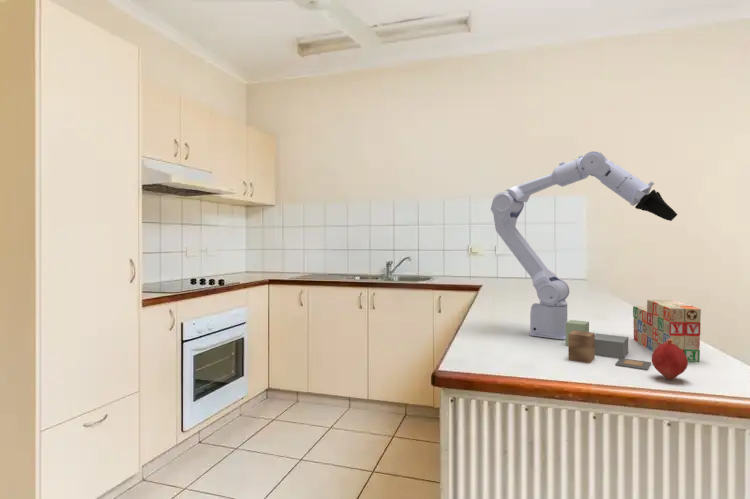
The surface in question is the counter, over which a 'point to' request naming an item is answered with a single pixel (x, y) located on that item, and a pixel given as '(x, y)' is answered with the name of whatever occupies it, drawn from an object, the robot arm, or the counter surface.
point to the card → (633, 364)
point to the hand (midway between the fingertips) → (672, 217)
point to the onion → (669, 360)
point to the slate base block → (611, 346)
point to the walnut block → (581, 346)
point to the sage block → (576, 327)
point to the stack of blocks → (668, 326)
